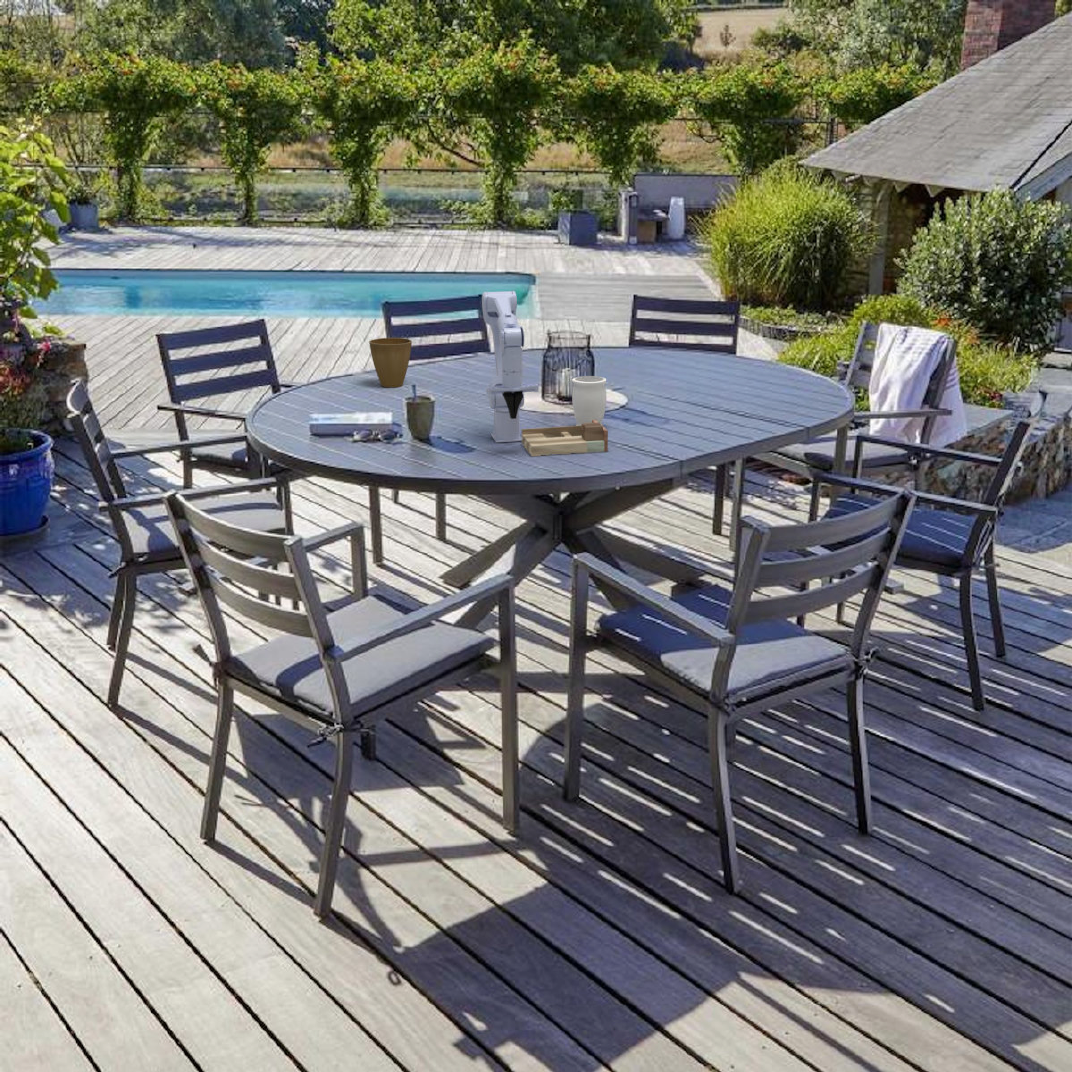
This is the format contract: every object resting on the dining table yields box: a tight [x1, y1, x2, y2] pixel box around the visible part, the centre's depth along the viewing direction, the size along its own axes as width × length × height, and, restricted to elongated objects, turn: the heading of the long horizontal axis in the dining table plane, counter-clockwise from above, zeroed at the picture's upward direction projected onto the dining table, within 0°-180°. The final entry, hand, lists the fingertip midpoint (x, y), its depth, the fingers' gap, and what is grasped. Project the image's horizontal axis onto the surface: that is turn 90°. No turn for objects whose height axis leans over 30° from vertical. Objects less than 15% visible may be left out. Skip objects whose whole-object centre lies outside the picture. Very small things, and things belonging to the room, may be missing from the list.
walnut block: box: [582, 422, 604, 441], centre depth 358 cm, size 5×5×4 cm
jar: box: [571, 375, 607, 427], centre depth 381 cm, size 11×10×15 cm
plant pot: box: [368, 337, 413, 388], centre depth 443 cm, size 15×15×16 cm
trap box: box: [521, 420, 609, 457], centre depth 359 cm, size 14×22×6 cm, turn 102°
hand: (513, 418), depth 356 cm, fingers closed
